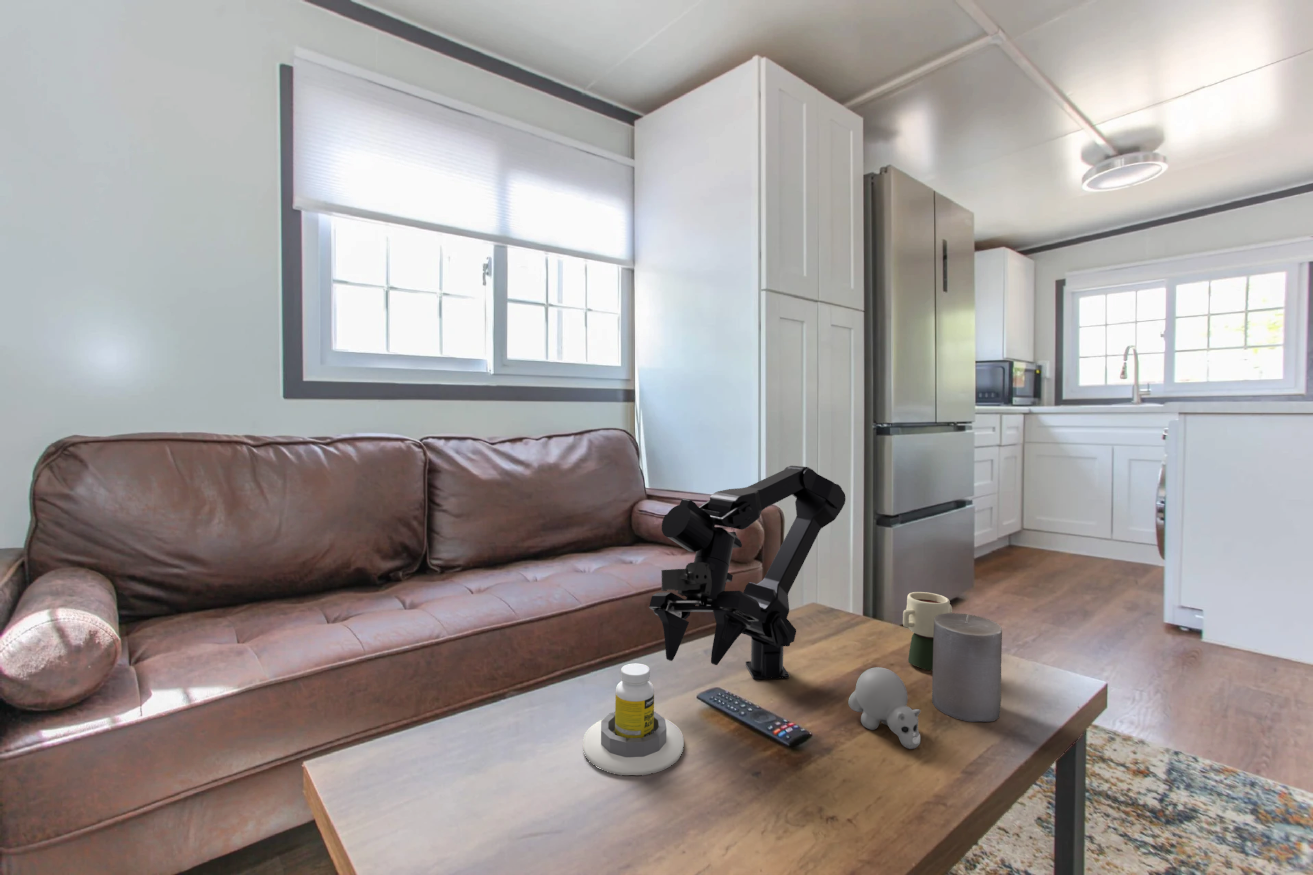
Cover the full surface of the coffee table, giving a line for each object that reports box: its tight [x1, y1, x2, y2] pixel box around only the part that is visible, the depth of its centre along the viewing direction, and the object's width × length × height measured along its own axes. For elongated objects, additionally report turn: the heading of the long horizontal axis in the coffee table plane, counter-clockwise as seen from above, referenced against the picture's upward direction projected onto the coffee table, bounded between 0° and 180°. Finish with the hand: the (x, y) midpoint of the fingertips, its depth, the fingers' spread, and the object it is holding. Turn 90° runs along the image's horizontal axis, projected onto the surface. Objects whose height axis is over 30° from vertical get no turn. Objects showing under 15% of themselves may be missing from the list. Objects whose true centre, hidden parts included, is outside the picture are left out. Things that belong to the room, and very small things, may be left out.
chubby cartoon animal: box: [847, 666, 922, 750], centre depth 86 cm, size 7×12×8 cm, turn 17°
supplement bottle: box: [614, 662, 655, 738], centre depth 82 cm, size 5×5×10 cm
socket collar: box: [582, 711, 685, 776], centre depth 83 cm, size 14×14×3 cm
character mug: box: [902, 591, 953, 672], centre depth 109 cm, size 11×7×13 cm, turn 109°
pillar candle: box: [931, 612, 1003, 723], centre depth 94 cm, size 10×10×15 cm
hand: (690, 662), depth 88 cm, fingers open, 9 cm apart
